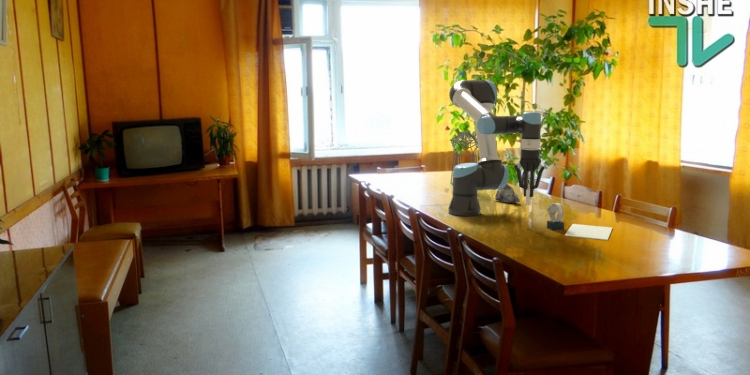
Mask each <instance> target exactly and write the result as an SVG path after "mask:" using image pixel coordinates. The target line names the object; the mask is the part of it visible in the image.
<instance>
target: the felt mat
mask: <svg viewBox="0 0 750 375" xmlns="http://www.w3.org/2000/svg"><path fill="white" fill-rule="evenodd" d="M612 231H613V227H610V226H598V225H589V224H587V225H586V224H579V223H572V224H571V226H570V227H569V228H568V230H567V231H566V232H565V234H564V237H571V238H579V239H581V238H583V239H589V240H598V241H599V240H601V241H609V239H610V238H609V237H610V236H611V232H612Z"/></svg>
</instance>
